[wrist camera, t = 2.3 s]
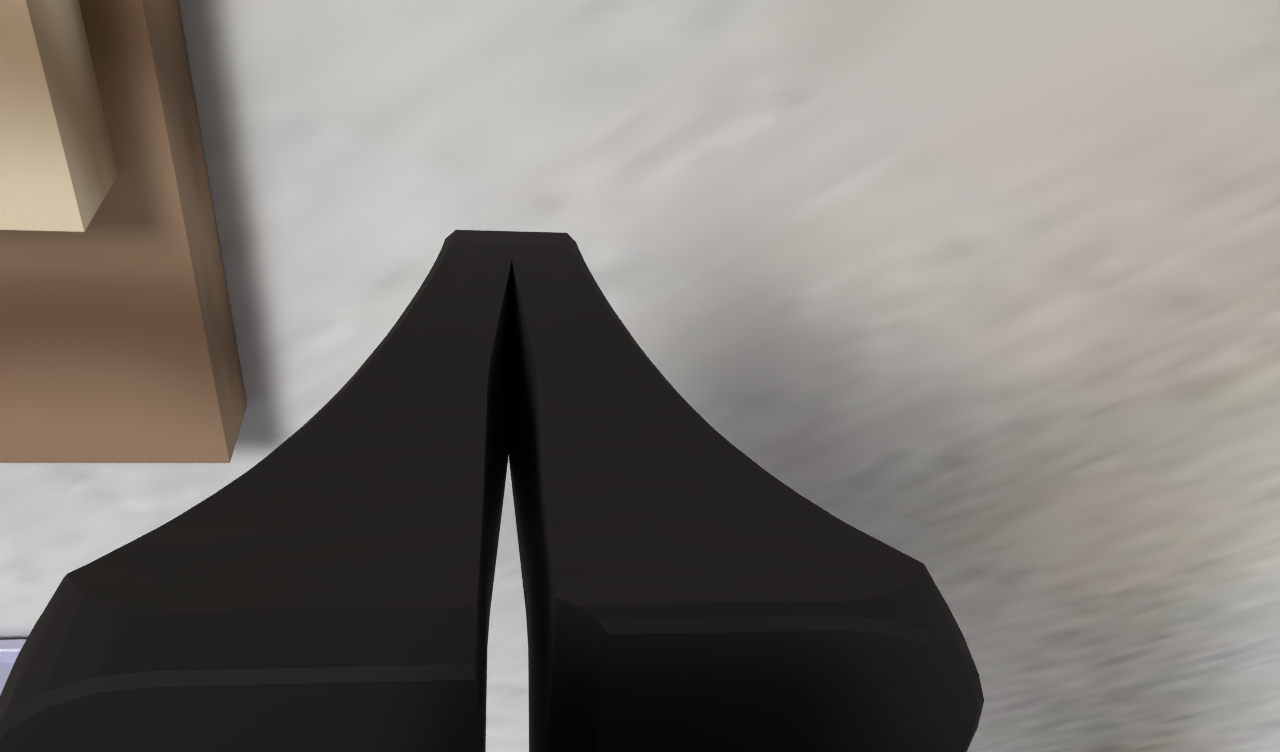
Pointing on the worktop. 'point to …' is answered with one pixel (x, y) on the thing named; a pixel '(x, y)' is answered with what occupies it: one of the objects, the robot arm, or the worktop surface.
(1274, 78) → the worktop surface
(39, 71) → the birch tile
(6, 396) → the board
